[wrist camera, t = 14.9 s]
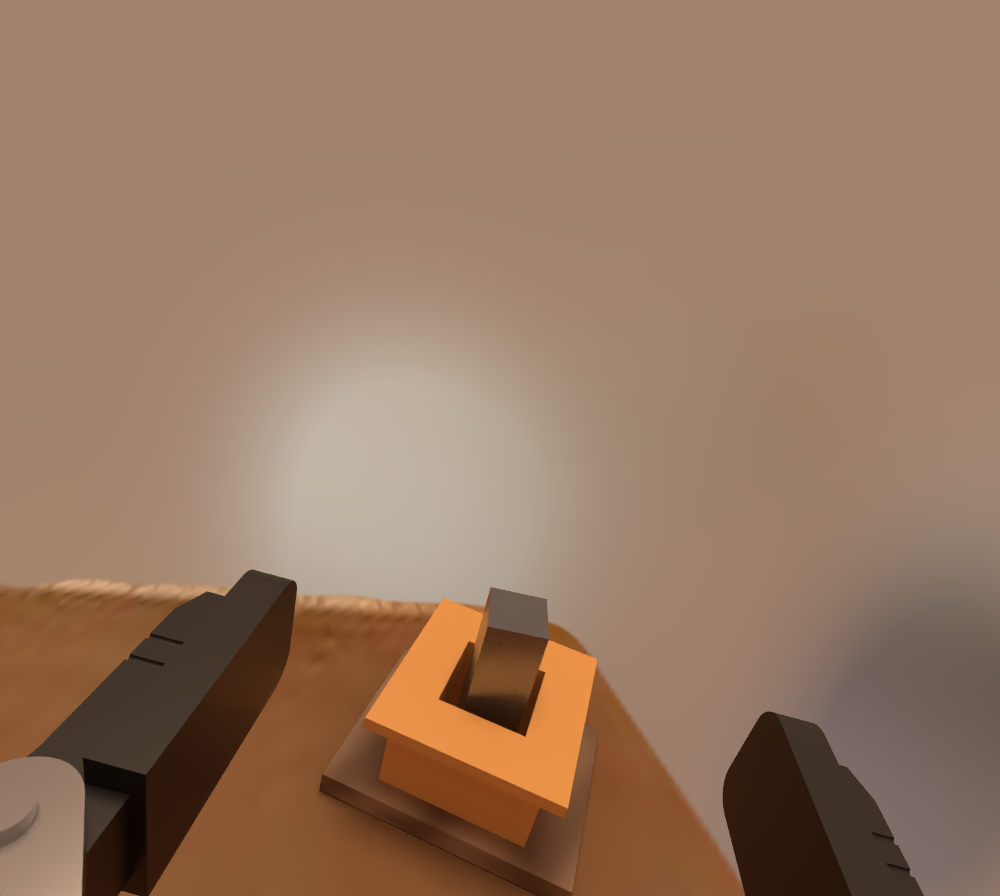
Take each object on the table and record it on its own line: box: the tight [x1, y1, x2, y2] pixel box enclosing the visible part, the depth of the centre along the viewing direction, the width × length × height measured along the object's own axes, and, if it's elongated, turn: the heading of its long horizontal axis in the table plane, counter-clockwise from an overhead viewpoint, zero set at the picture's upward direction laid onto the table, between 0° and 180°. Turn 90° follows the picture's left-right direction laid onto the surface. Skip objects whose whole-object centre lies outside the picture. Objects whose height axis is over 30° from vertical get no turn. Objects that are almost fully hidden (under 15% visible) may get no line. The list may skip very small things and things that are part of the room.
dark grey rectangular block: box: [457, 587, 549, 733], centre depth 37 cm, size 4×4×12 cm
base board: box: [320, 649, 599, 896], centre depth 40 cm, size 16×12×2 cm
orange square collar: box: [363, 599, 597, 847], centre depth 38 cm, size 12×12×6 cm
